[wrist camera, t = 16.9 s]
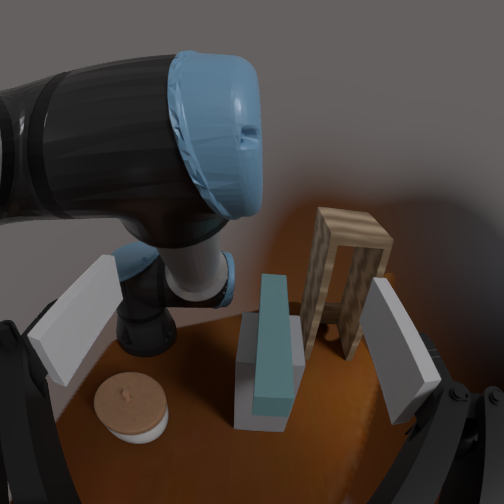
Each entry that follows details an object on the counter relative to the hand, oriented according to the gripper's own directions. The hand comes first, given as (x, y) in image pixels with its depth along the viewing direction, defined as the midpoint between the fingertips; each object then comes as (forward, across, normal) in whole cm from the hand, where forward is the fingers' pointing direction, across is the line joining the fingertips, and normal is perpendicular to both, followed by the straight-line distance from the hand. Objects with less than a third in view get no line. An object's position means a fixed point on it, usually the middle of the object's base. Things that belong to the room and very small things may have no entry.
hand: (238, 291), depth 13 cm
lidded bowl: (+10, -18, -40) cm, 45 cm away
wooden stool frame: (+39, +19, -40) cm, 59 cm away
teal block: (+17, +4, -20) cm, 26 cm away
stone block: (+18, +4, -40) cm, 44 cm away
